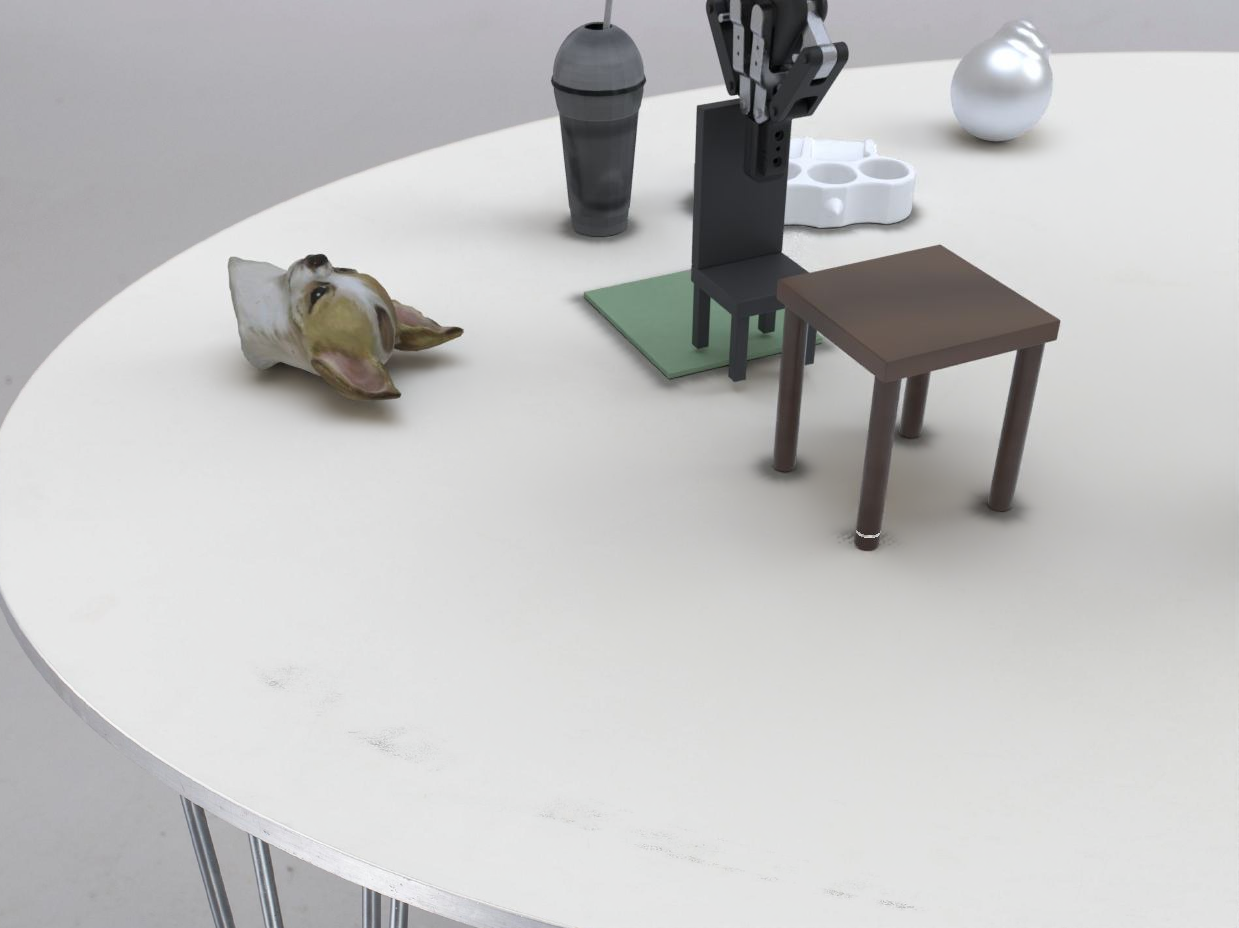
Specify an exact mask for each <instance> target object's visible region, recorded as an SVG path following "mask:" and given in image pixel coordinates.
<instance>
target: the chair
mask: <svg viewBox="0 0 1239 928" xmlns="http://www.w3.org/2000/svg"><path fill="white" fill-rule="evenodd" d="M739 101H740V97H738V98H732V99H726V100H720V101H714V102H708V103H702V104H697V105H696V116H695V117H696V118H695V143H694V145H695V146H694V148H695V149H694V164H695V172H694V171H693V184H694V202H693V201H692V202H693V203H692V204H693V205H692V233H691V234H692V235H691V236H692V237H691V239H692V240H691V265H690V266H691V267H690V268H691V269H690V270H691V281H692V282H693V283H694V294H693V323H692V345H693V346H695V347H696V348H697V349H700V348H705V347H708V346H709V325H710V302H711V298H712V299H713V300H714V301H716V302H717V303H718V304H719V305H720V306H722V307H723V308H724V309H725V310H726V311H728V312H729V313H730V314H731V334H730V352H729V365H728V373H727V377H728V378H729V379H730V380H731V381H732V382H733V383H737V382H742V381H745V380H746V379H747V365H748V360H747V350H748V334H749V318H750V316H755V315H759V318H758V329H759V330H760V331H761V332H762V333H763V334H766V333H770V332H774V331H775V320H776V311H777V310H781V309H785V305H784V304H783V303H781V302H780V301H779V300H778V299H777V285H778V280H779V279H783V278H788V277H792V276H797V275H802V274H806V273H810V271H808V270H807V269H806V268H804V267H803V266H801V265H800V264H799V263H797V262H796V261H794V259H792V258H790V257H789V256H788V255H786V254H785V253H783V245H784V244H783V243H784V233H785V232H784V231H785V225H784V219H785V206H786V192H787V179H788V166H789V152H790V139H791V138H792V123H793V120H792V121H791V123H790V130H789V143H788V149H787V150H788V156H787V167H786V172H785V175H784V176H783V177H782V178H781V179H780V180H775V181H770V182H765V183H757V182H756V181H754V180H753V179H752V178H750V177H749V176H747V175H746V174H745V173H744V171H743V167H744V146H745V129H746V115H744V114H743V113H742V112H741V109H740V103H739ZM817 332H818V331H817V330H816V329H814V328H813V327H812V326H811V325H809V324H808V334H807V345H806V356H805V366H808V365H813V364H814V363H815V354H816V345H817V344H816V334H818V333H817Z"/></svg>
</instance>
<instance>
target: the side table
mask: <svg viewBox="0 0 1239 928" xmlns="http://www.w3.org/2000/svg"><path fill="white" fill-rule="evenodd" d="M777 299H778V300H779V301H780V302H781V303H783V304H784V305H785V313H784V325H783V338H782V351H781V352H780V354H781V355H780V364H779V365H780V367H779V378H778V391H777V403H776V414H775V415H776V416H775V429H774V440H773V441H774V443H773V452H772V453H773V456H772V468H774V470H776V471H779V472H783V473H784V472H785V473H786V472H791V471H793V470H795V469H796V467H797V466H796V465H797V456H798V455H797V454H798V444H799V443H798V442H799V433H800V421H801V409H802V398H803V387H804V376H805V366H806V365H805V356H806V345H807V334H808V324H809V325H811V326H812V327H813V328H814V329H816V330H817V332H818V333H819V334H821V335H822V336H823V337H824V338H826V339H827V340H829V342H831V344H833V345H835V346H836V347H837V348H839V349H840V350H841V351H842V352H843V353H845V354H846V355H848V356H849V357H850V358H851V359H853V360H854V361H855V362H856V363H858V364H859V365H860V366H862V368H864V369H865V370H867V371H868V372H869V373H870V374H871V375H873V377H874V378H873V379H874V380H873V386H872V387H873V388H872V396H871V404H870V410H869V419H868V428H867V435H866V436H867V437H866V445H865V452H864V459H863V466H862V467H863V468H862V476H861V484H860V491H859V499H858V507H857V515H856V523H855V531H854V539H853V543H854V545H855V547H857V548H858V549H860V550H863V551H873V550H875V549H878V547H880V540H881V533H882V527H883V526H882V525H883V519H884V512H885V504H886V498H887V490H888V482H889V476H890V470H891V469H890V467H891V461H892V454H893V446H894V441H895V440H894V439H895V432H896V424H897V418H898V411H899V403H900V396H901V390H902V383H903V382H902V381H903V380H904V379H905V380H906V381H905V387H904V394H903V401H902V408H901V415H900V421H899V423H900V424H899V427H898V428H899V429H898V432H899V434H900V435H901V436H903V437H905V438H908V439H915V438H918V437H921V435H922V434H923V433H922V432H923V427H924V420H925V413H926V406H927V400H928V394H929V387H930V381H931V374H932V372H934V371H938V370H943V369H947V368H950V367H951V368H952V367H955V366H959V365H962V364H967V363H970V362H975V361H978V360H983V359H987V358H991V357H995V356H1000V355H1002V354H1007V353H1010V352H1015V357H1014V358H1015V359H1014V363H1013V369H1012V373H1011V379H1010V384H1009V389H1008V394H1007V399H1006V405H1005V411H1004V415H1003V419H1002V420H1003V421H1002V424H1001V425H1002V426H1001V432H1000V437H999V441H998V446H997V451H996V457H995V463H994V468H993V473H992V478H991V483H990V489H989V494H988V499H987V505H988V507H989V508H990V509H992V510H994V511H998V512H1005V511H1009V510H1010V509H1012V508H1013V503H1014V500H1015V499H1014V498H1015V493H1016V489H1017V483H1018V479H1019V473H1020V470H1021V465H1022V460H1023V454H1024V450H1025V445H1026V440H1027V436H1028V430H1029V425H1030V420H1031V416H1032V411H1033V406H1034V401H1035V397H1036V391H1037V387H1038V381H1039V376H1040V373H1041V366H1042V362H1043V358H1044V352H1045V349H1046V348H1045V347H1046V343H1051V342H1055V341H1057V340H1058V335H1059V331H1060V327H1061V319H1059V318H1058V317H1056V316H1055V315H1053V314H1051V313H1050V312H1049V311H1047V310H1045V309H1044V308H1043V307H1041V306H1039V305H1038V304H1036V303H1034V302H1032V301H1031V300H1029V299H1028V298H1027V297H1025V296H1023V295H1021V294H1020V293H1018V292H1016V291H1015V290H1014V289H1012V288H1011V287H1009V286H1007V285H1006V284H1004V283H1002V282H1001V281H999V280H998V279H996V278H994V277H993V276H992V275H990V274H988V273H987V272H985V271H984V270H982V269H980V268H979V267H977V266H975V265H974V264H972V263H971V262H969V261H967V260H966V259H964V258H963V257H961V256H960V255H958V254H957V253H955V252H953V250H950V249H948V248H947V247H946V246H944V245H942V244H939V243H938V244H935V245H930V246H927V247H922V248H917V249H912V250H907V251H902V252H899V253H894V254H889V255H885V256H880V257H876V258H871V259H870V258H869V259H866V260H861V261H858V262H853V263H848V264H844V265H839V266H834V267H830V268H825V269H821V270H816V271H812V272H811V271H810V272H809V273H806V274H802V275H797V276H792V277H788V278H783V279H779V280H778V285H777ZM856 530H857V531H858V532H860V533H861V534H864V535H876V534H878V533H880V531H881V533H880V535H879V536H878V537H875V538H864V537H861V536H859V535H858V534H857V533H856Z"/></svg>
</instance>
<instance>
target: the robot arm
mask: <svg viewBox="0 0 1239 928" xmlns="http://www.w3.org/2000/svg"><path fill="white" fill-rule="evenodd" d="M828 10H829V3H828V0H706V2H705V12H706V16H707V21H708V24H709V28H710V32H711V35H712V38H713V43H714V47H715V50H716V51H715V52H716V54H717V59H718V62H719V65H720V69H721V74H722V77H723V81H724V85H725V89H726V92H727V94H728V95H729V96H730V97H734V96H738V98H740V101H739V103H740V109H741V112H742V113H743V114H744V115H746V129H745V146H744V167H743V171H744V173H745V174H746V175H747V176H749V177H750V178H752V179H753V180H754V181H756V182H757V183H765V182H770V181H775V180H780V179H781V178H782V177H783V176H784V175H785V172H786V167H787V156H788V150H787V149H788V143H789V130H790V123H791V121H792V122H793V120H795V119H801V118H806V117H811V116H813V115H814V114H815V112H816V110H817V109H818V107H819V106H820V104H821V103H822V101H823V100H824V98H825V96H826V95H827V94H828V92H829V91H830V89H831V88H832V86H833V84H834V83H835V81H836V79H837V78H838V77H839V75H840V74H841V72H842V71H843V69H844V67H845V65H846V64H847V62H848V61H849V55H850V52H849V51H850V50H849V47H848V44H847V43H846V42H845V41H838V42H837V41H836V42H832V39H831V38H830V35H829V33H828V30H827V29H826V26H825V23H824V22H825V20H826V18H827V16H828Z"/></svg>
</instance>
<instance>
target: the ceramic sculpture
mask: <svg viewBox="0 0 1239 928" xmlns="http://www.w3.org/2000/svg"><path fill="white" fill-rule="evenodd" d="M227 272H228V288H229V291H230V298H231V302H232V307H233V312H234V315H235V318H236V321H237V323H236V324H237V333H238V335H239V339H240V350H241V352H242V354H243V356H244V358H245V359H246V360H247V361H248V363H250V364H251V365H252V366H253V367H255V368H257V369H259V370H267V369H271V368H272V367H273V366H275V365H276V364H279V363H283V364H286V365H288V366H292V367H295V368H298V369H300V370H301V369H302V370H304V371H306V372H308V373H311V374H313V375H315V376H318V377H321V378H323V380H324V381H325V382H326V383H327V384H328V385H329V386H330V387H331V388H333V390H335V391H336V392H337V393H339V394H340V395H342V396H344V397H345V398H347V399H349V400H352V401H359V402H360V401H361V402H363V401H364V402H380V401H388V400H390V401H391V400H397V399H400V398H401V397H402V393H401V391H399V389H398V388H396V386H395V384H394V381H393V380H392V378H391V376H390V373H389V370H388V369H387V367H386V365H385V364H386V363H387V362H388V361H389V359H390V358H391V356H392V355H393V351H394V350H397V351H401V352H421V351H425V350H429V349H432V348H435V347H438V346H441V345H443V344H446V343H448V342H451V341H453V340H455V339H458V338H460V337H462V335H463V334H464V333H465V329H464V328H462V327H460V326H453V325H452V326H442V325H440V324H439V323H438V322H436V321H435V320H434V319H432V318H430V317H429V316H428V317H426V316H425V315H423V313H422V312H421V311H420V310H418V309H416V308H415V307H413V306H410V305H406V304H402V303H401V302H399V301H398V300H396V299H392V298H391V296H390V295H389V293H388V292H387V290H386V288H385V287H384V286H383V285H382V284H381V283H380V282H379V280H377V279H376V278H374V277H373V276H372V275H370V274H367V273H364V272H363V273H362V272H358V270H357V269H355V268H351V267H350V268H349V267H348V268H347V267H334V266H333V264H332V262H331V261H330V259H329V258H328V257H327V255H326V254H323V253H317V254H307V255H306V256H305V257H304V258H299V259H297V260H294V262H293V263H292V264H291V265H290V266H288V268H287V270H286V269H284V268H282V267H279V266H278V265H277V266H276V265H275V264H273V263H270V262H268V261H258V260H251V259H243V258H242V257H239V256H230V257H229V258H228V260H227Z"/></svg>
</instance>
